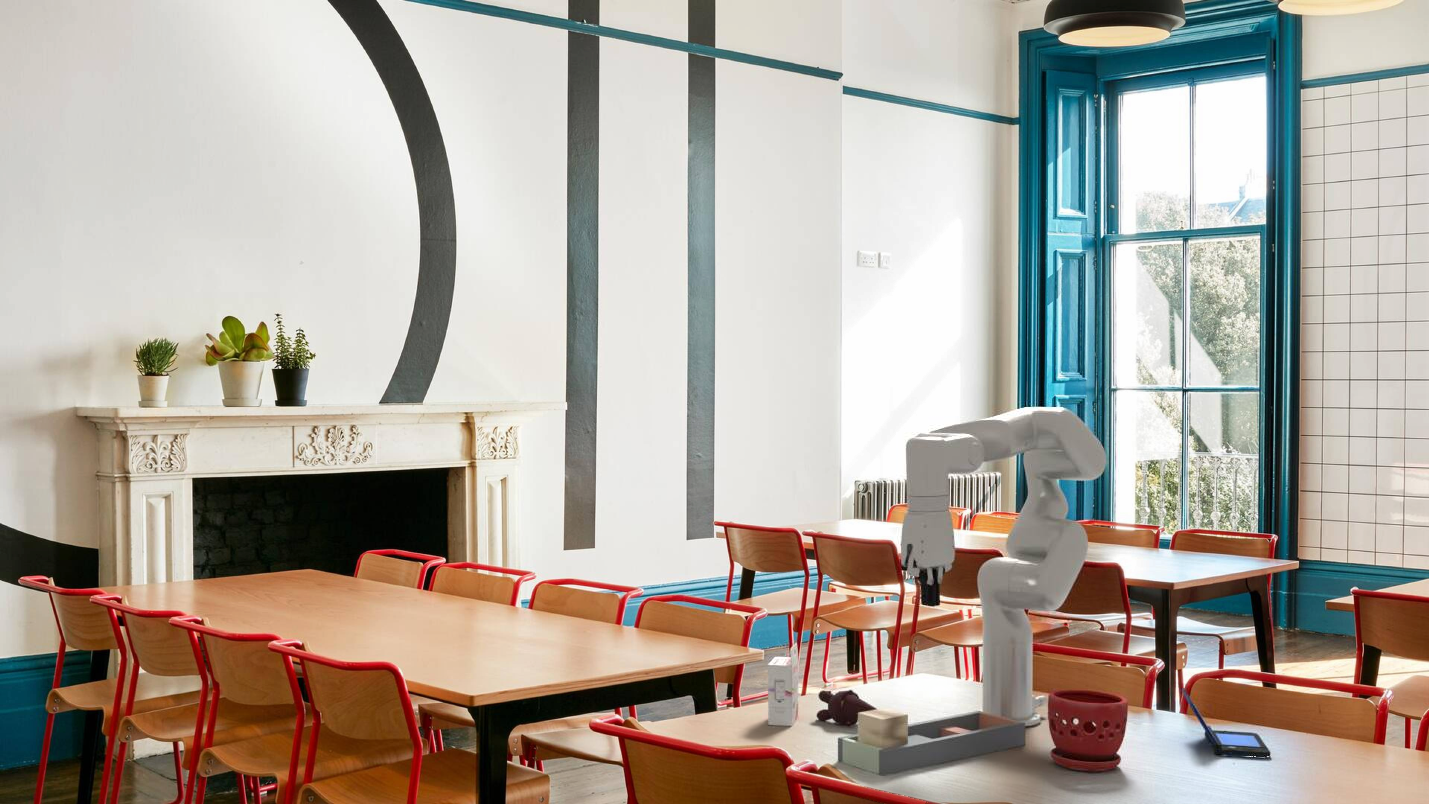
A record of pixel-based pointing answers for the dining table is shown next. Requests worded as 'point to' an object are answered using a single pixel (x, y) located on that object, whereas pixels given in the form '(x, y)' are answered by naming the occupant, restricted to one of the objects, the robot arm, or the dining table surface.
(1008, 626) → the robot arm
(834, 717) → the gnome figurine
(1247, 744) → the handheld game console
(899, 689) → the dining table surface
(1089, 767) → the plant pot
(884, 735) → the maple block
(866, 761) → the compartment tray
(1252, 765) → the dining table surface
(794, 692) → the ink cartridge box
